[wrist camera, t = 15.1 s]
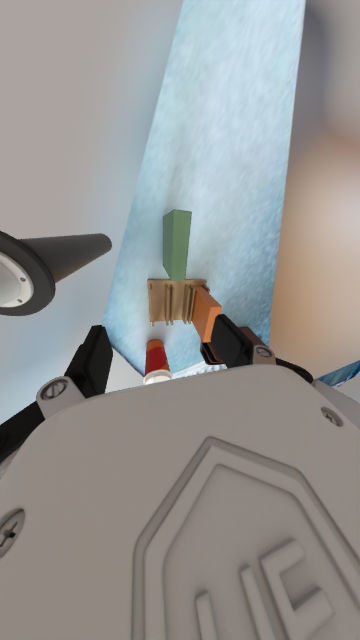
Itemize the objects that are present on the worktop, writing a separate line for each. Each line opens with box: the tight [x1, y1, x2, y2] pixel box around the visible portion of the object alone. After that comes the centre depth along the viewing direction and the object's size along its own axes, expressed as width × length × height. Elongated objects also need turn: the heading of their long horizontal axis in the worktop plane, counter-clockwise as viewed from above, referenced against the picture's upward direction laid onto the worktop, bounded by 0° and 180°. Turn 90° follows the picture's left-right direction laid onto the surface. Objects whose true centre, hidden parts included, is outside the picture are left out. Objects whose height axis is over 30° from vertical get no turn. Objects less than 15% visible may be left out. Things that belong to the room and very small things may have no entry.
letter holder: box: [200, 327, 268, 365], centre depth 49 cm, size 10×20×14 cm, turn 89°
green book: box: [163, 209, 192, 281], centre depth 27 cm, size 3×10×13 cm, turn 175°
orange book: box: [191, 286, 222, 342], centre depth 36 cm, size 3×10×13 cm, turn 175°
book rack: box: [148, 279, 210, 326], centre depth 39 cm, size 17×13×5 cm
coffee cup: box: [143, 340, 172, 385], centre depth 43 cm, size 8×8×15 cm
